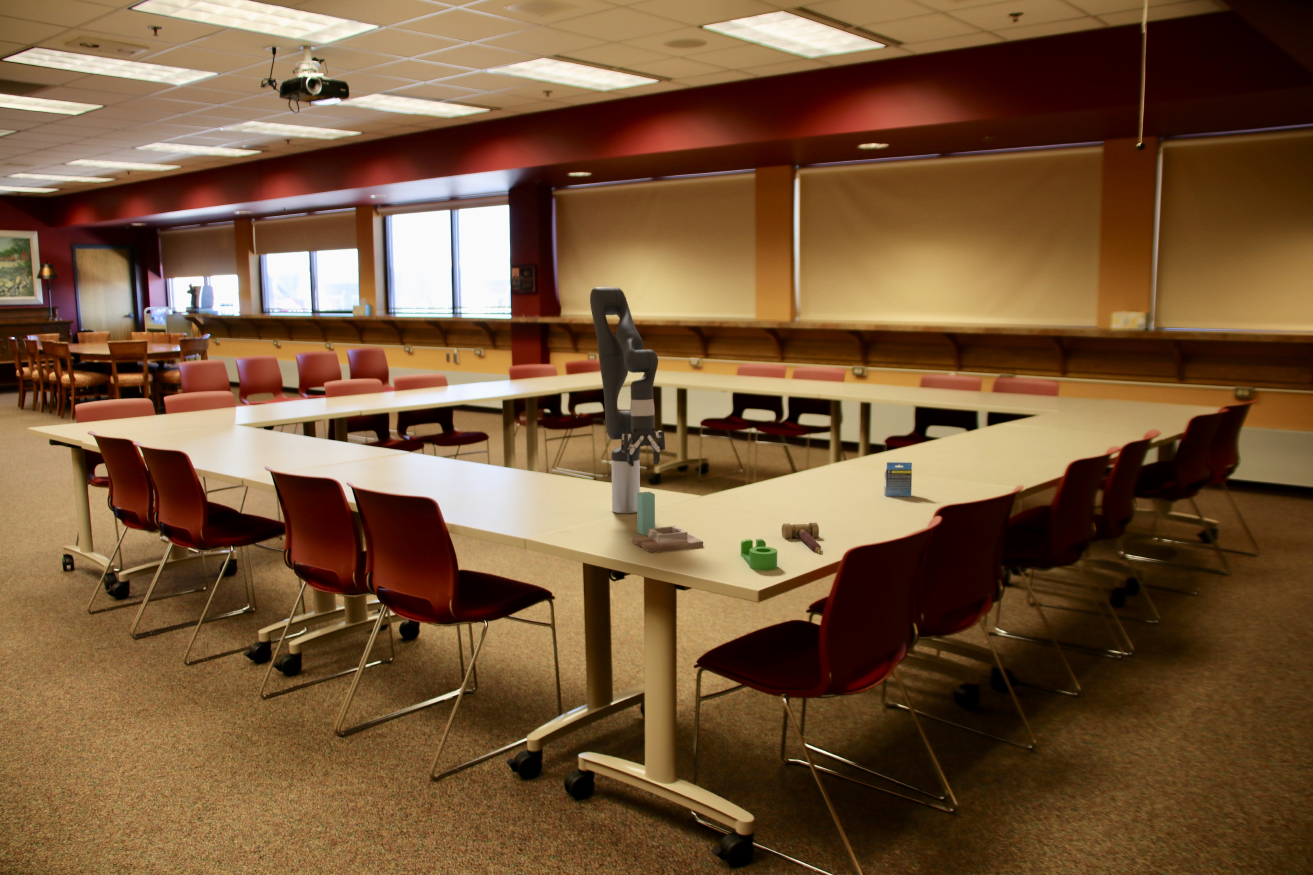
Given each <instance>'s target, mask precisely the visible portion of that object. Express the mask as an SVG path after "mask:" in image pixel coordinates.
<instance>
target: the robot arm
mask: <svg viewBox="0 0 1313 875" xmlns="http://www.w3.org/2000/svg"><path fill="white" fill-rule="evenodd" d="M589 304H590V310H591V316H592V321H593V325H594V329H595V335H596V341H597V350H598V359H599V360H598V361H599V368H600V375H601V381H602V389H603V397H604V399H603V400H604V417H605V429H606V433H607V436H608V438H609V439H610V440H618V441H619V440H621V443H620V446H619V447H617V448H615V449H614V450H612V451H611V453H610V454H611V455H610V456H611V459H610V460H611V510H612V512H613V513H617V514H635V513H637V493H640V492H641V486H640V484H641V483H640V482H641V481H640V480H641V473H640V471H641V470H640V463H641V462H640V456H641V454H640V453H641V447H649V448H651V449H652V451H653V452H652V454H653V455H652V457H653V459H652V461H653V464H654V465H659V463H660V462H661V459H660V458H661V457H660V456H661V455H660V452H661V451H664V450H666V440H665V438H666V437H665V432H664V431H663V430H657V431H655V428H656V427H655V426H656V424H655V423H656V419H655V418H656V417H655V413H656V412H655V403H654V383H655V380H656V379H655V378H656V374H657V370H658V366H659V356H658V354H657V352H656V351H654V350H653V349H644V346H645V345H644V341H643V339H642V337H641V335H640V332H639V331H638V330H637V328H636V326H635V323H634V319H633V317H632V313H631V310H630V307H629V304H628V301H627V297H626V295H625V292H624V291H623V290H622V289H621V288H620V287H613V286H611V287H610V286H609V287H607V286H601V287H600V286H596V287H593V289H592V290H590V295H589ZM607 316H617V317H618V318H619V319H618V320H619V321H618V323H617V325H616V328H615V329H616V330H615V333H614V332H613V331H612V329H611V327H610V325H609V322H608V320H607V319H608V318H607ZM629 372H630V373H633V374H634V373H635V374H636V373H643V375H642V377H641V378H639V379H637V380H633V381H632V382H631V384H630V404H629V405H630V410H619V409H618V408H619V407H618V401H619V400H618V399H619V396H620V393H621V390H622V387H623V385H624V383H625V382H626V379H627V377H628V374H629ZM655 438H657V443H656V441H655Z"/></svg>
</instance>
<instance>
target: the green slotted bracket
mask: <svg viewBox="0 0 1313 875" xmlns="http://www.w3.org/2000/svg"><path fill="white" fill-rule="evenodd" d="M753 543H754V541H753V539H752V538H751V539H743V540H741V542H740V557H742V559H743V560H744V561H745V562H746V563H747V565H748V566H749V567H748V568H750V569H752V570H756V571H762V572H763V571H765V572H766V571H767V572H768V571H773V570H776V569H777V568H778V549H777V548H774V547H770V546H767V544H766V541H765V540H764V539H763V538H756V539H755V546H754V544H753Z"/></svg>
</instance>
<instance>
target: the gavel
mask: <svg viewBox="0 0 1313 875" xmlns="http://www.w3.org/2000/svg"><path fill="white" fill-rule="evenodd" d="M819 535H820V526H819V524H818V523H817V522H809V523H808V524H807V523H799V524H798V523H797V524H791V523H789V522H788V523H783V524H782V525H781V536H782V538H783V539H784V540H787V539H788V540H791V539H792V538H793V539H799V538H800V539H801V540H802V542H803V543H805V544H806V545H807V547H808V548H809V549H810V550H811V551H812V552H814V553H816V554H817V553H818V554H821V553H822V547H821V545H820V544H819V542H818V541H816V538H819Z"/></svg>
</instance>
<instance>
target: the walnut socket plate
mask: <svg viewBox="0 0 1313 875" xmlns="http://www.w3.org/2000/svg"><path fill="white" fill-rule="evenodd" d="M632 543H633V544H634V545H636V544H637V546H638V545H639V546H638V547H640V546H641V547H642V549H643V548H644V550H645V549H646V550H647V551H646V550H645V551H646V552H648V551H649V552H648V553H650V552H651V553H650V554H655V553H654V552H657V553H664V552H665V553H666V552H672V550H673V551H679V550H680V549H681V550H688V549H695V548H702V547H703V548H704V540H701V539H699V538H697V537H695V536H693V535H691V534H689V533H688V532H687V531H686V530H683V529H681V528H679V527H678V526H675V525H672V526H662V527H661V526H660V527H655V528H652V529H648V534H647V535H640V536H633V537H632ZM641 547H640V548H641Z"/></svg>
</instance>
